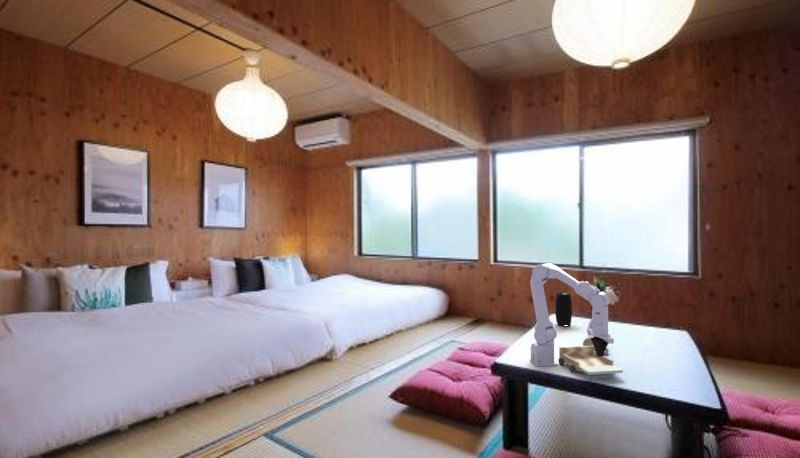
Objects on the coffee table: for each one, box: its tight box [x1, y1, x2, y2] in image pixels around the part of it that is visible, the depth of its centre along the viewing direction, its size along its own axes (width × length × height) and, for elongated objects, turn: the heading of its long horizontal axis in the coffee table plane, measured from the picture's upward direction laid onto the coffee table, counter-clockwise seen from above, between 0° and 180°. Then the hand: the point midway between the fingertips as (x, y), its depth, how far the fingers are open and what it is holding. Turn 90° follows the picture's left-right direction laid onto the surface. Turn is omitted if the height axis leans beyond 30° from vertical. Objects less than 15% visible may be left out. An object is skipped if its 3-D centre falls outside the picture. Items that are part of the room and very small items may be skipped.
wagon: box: [557, 345, 614, 374], centre depth 173 cm, size 18×14×7 cm
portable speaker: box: [554, 291, 573, 326], centre depth 244 cm, size 9×9×20 cm
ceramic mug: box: [582, 334, 610, 356], centre depth 193 cm, size 11×8×8 cm
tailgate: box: [580, 364, 624, 376], centre depth 162 cm, size 14×1×6 cm
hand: (599, 356), depth 163 cm, fingers closed
